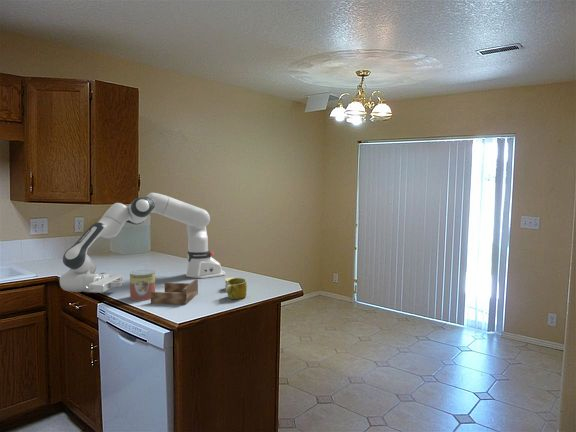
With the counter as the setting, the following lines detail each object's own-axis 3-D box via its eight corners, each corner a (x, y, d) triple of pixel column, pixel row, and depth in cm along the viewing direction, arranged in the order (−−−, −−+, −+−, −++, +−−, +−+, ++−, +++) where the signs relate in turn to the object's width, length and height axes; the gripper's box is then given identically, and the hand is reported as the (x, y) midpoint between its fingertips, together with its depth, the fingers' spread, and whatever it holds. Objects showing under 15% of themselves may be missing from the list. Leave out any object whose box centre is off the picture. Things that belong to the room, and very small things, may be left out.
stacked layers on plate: (219, 288, 222) (219, 277, 222) (235, 286, 226) (235, 276, 225) (224, 293, 213) (224, 282, 213) (242, 291, 217) (242, 280, 216)
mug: (236, 288, 213) (237, 271, 209) (250, 298, 207) (252, 281, 203) (217, 298, 204) (218, 280, 200) (231, 308, 199) (232, 290, 194)
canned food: (129, 301, 196) (128, 275, 195) (131, 295, 207) (130, 270, 206) (155, 299, 199) (154, 274, 198) (155, 293, 210) (155, 269, 209)
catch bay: (150, 303, 194) (150, 288, 193) (165, 292, 212) (165, 278, 211) (186, 304, 192) (185, 289, 192) (197, 293, 211) (197, 279, 210)
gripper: (82, 281, 194) (111, 282, 193) (105, 272, 214) (131, 272, 213) (82, 295, 194) (112, 296, 193) (105, 284, 215) (132, 285, 214)
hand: (122, 283), depth 203 cm, fingers closed
